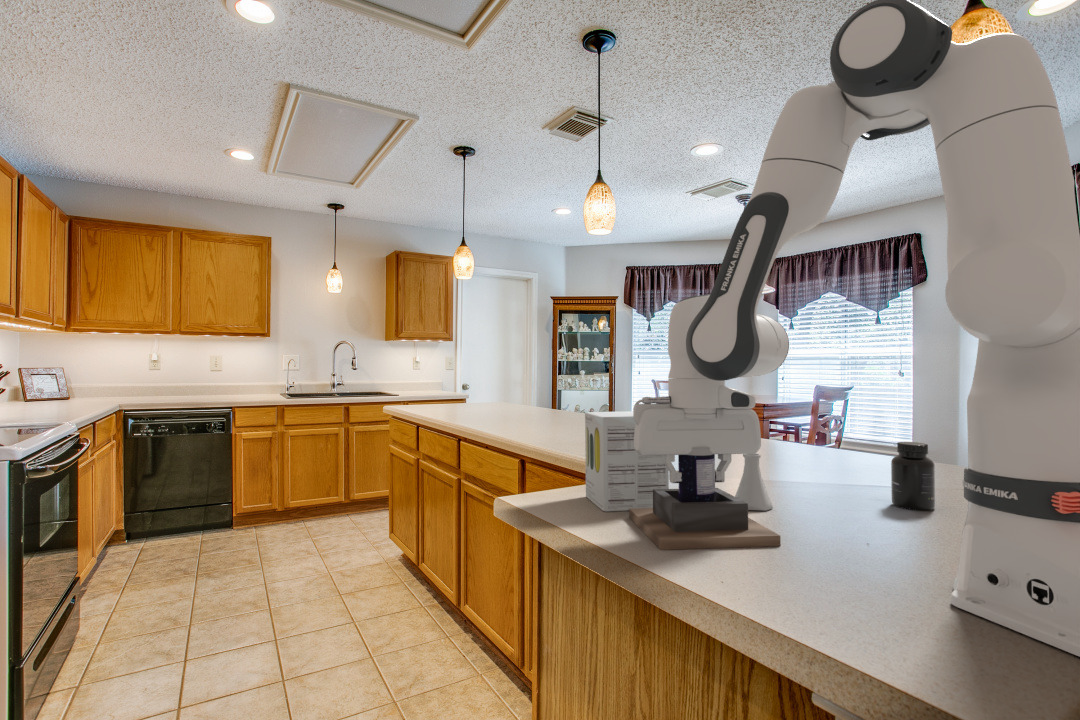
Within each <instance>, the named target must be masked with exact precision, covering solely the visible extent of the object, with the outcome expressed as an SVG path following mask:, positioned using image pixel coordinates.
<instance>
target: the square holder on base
mask: <svg viewBox="0 0 1080 720" xmlns="http://www.w3.org/2000/svg"><path fill="white" fill-rule="evenodd" d="M628 515H629V516H628V518H630V519H631V521H632V522H633V523H634V524H635V525H636V526H637V527H638V528H639V529H640V530H641V531H642V533H644V534H645V535H646V536H647V538H649V540H650V541H651V542H652V543H653V544H654V545H655V546H656V547H657V548H658V549H659V550H661V551H665V550H695V549H696V550H697V549H724V548H725V549H726V548H732V549H733V548H755V547H756V548H757V547H758V548H759V547H781V545H782V544H781V535H780V534H778V533H777V532H775V531H773V530H771V529H770V528H768V527H766V526H764V525H763V524H761V523H759V522H758V521H756V520H754V519H752V518H750V517H749V510H748V503H746V502H744V501H742V500H740V499H738V498H736V497H735V495H732V494H730V493H728V492H726V491H724V490H723V489H721V488H718V487H715V502H686V503H681V502H679V488H669V489H653V508H632V509H629V510H628Z"/></svg>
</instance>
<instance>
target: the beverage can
mask: <svg viewBox="0 0 1080 720" xmlns="http://www.w3.org/2000/svg"><path fill="white" fill-rule="evenodd" d="M691 449H692V451H691V452H690V453H689V454H687V455H677V456H678V458H677V459H678V466H677V467H678V469H677V470H678V471H679V472H682V477H681V479H682V482H681V483H678V489H679V502H681V503H686V502H715V488H716V482H715V470H716V454H713V453H712V452H711V451H710V450H709V449H710V448H691Z"/></svg>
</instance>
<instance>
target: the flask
mask: <svg viewBox="0 0 1080 720" xmlns="http://www.w3.org/2000/svg"><path fill="white" fill-rule="evenodd" d="M742 457H743V459H744V465H743V472H742V476H741V478H740V482H739V485H738V487H737V491H736V493H735V495H734V497H736V498H738V499H740V500H742V501H744V502H746V503H748V511H766V512H767V511H768V510H772V509H773V508H774V507H773V504H772V501H771V499H770V498H771V497H770V496H769V493H768V490H767V488H766V485H765V483H764V479H763V477H762V471H761V467H760V459H761V457H762V454H761V453H756V454H742Z"/></svg>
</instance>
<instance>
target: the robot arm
mask: <svg viewBox="0 0 1080 720" xmlns="http://www.w3.org/2000/svg"><path fill="white" fill-rule="evenodd" d="M952 39H953V29H952V28H951V26H950V25H948V24H947V23H945V22H944V21H942V20H940V18H937V16H935V15H933V14H932V13H931V12H929V11H927V9H925V8H924V7H922V6H921V5H919V4H916V3H915V2H912V1H910V0H874V1H871V2H869V3H867V4H866V5H863V6H861V7H860V8H859V9H857V10H856V11H855V12H854V13H852V14H851V15H850V16H849V17H848V18H847V19H846V20H845V21H844V23H843V24H842V25H841V26H840V28H839V29H838V31H837V33H836V34H835V37H834V39H833V41H832V45H831V48H830V54H829V63H830V64H829V66H830V71H831V74H832V77H833V82H830V83H827V84H818V85H817V84H816V85H810V86H807V87H803V88H801V89H800V90H797V91H796V92H795V93H794V94H792V95H791V96H790V97H789V98H788V99H787V101H786V102H785V104H784V105H783V108H782V110H781V111H780V114H779V116H778V118H777V120H776V123H775V125H774V127H773V129H772V132H771V134H770V137H769V139H768V143H767V145H766V147H765V150H764V153H763V158H762V161H761V164H760V166H759V170H758V173H757V178H756V181H755V183H754V187H753V189H752V192H751V195H750V198H749V200H748V202H747V204H746V205H745V206H744V209H743V211H742V213H741V214H740V217H739V218H738V220H737V223H736V226H735V227H734V229H733V230H734V231H733V232H732V235H731V238H730V241H729V243H728V247H727V249H726V251H725V254H724V256H723V260H722V262H721V265H720V267H719V270H718V273H717V276H716V279H715V281H714V284H713V286H712V290H711V291H710V294H702V295H701V294H700V295H693V296H689V297H686V298H683V299H681V300H679V301H678V302H677V303H675V304H674V306H673V308H672V309H671V312H670V317H669V323H668V334H667V335H668V337H667V346H668V347H667V352H668V357H669V361H670V369H669V372H668V379H667V382H668V385H667V387H668V390H667V391H668V396H657V397H652V396H651V397H650V396H644V397H642V398H641V399H639V400H638V401H636V402H635V404H634V406H633V417H634V421H635V422H636V425H635V432H634V448H635V450H636V451H637V452H638V453H639V454H641V455H662V460H663V462H664V464H665V465H666V467H667V469H668V470H669V483H670V484H679V483H681V482H682V479H681V477H682V472H679V470H676V468H675V467H674V464H673V463H675V461H676V456H678V455H687V454H689V453H690V452H691V451H692V449H691V448H710V449H709V450H710V451H711V452H712V453H713V454H715V455H717V459H718V460H720V461H719V463H718V466H717V467H716V468H715V483H725V481H726V480H725V479H726V478H725V477H726V476H725V475H726V474H725V473H726V471H727V470H728V468H729V467H730V465H731V462H732V455H743V454H758V452H759V450H760V449H761V447H762V436H761V435H762V433H761V425H760V419H759V416H758V414H757V412H756V411H755V410H754V408H755V407H756V403H757V402H756V401H757V400H756V397H755V396H754V395H753V394H750V393H748V392H745V391H741V390H738V389H736V388H733V387H729V386H727V385H726V384H725V383H726V381H729V380H732V379H734V380H735V379H736V378H749V377H760V376H765V375H767V374H770V373H772V372H775V371H776V370H778V369H779V368H780V367H781V366H782V364H784V362H785V360H786V359H787V357H788V354H789V350H790V340H789V336H788V334H787V332H786V329H785V328H784V326H783V325H782V324H781V323H780V322H779V321H778V320H775V318H774V319H773V318H772V317H770V316H767V315H764V314H759V313H757V308H758V306H759V303H760V300H761V296H762V295H763V292H764V289H765V286H766V284H767V281H768V277H769V276H770V273H771V269H772V267H773V265H774V262H775V260H776V258H777V255H778V253H779V252H780V251H781V249H782V248H783V247H784V246H785V244H787V243H788V242H789V241H791V239H793V238H795V237H796V236H799V235H801V234H802V233H803V234H804V233H806V232H808V231H810V230H812V229H814V228H815V227H817V226H819V225H820V224H821V223H822V222H823V221H825V219H826V217H827V216H828V214H829V212H830V210H831V208H832V206H833V204H834V202H835V199H836V198H837V195H838V192H839V190H840V188H841V184H842V181H843V179H844V174H845V172H846V167H847V164H848V160H849V157H850V156H851V152H852V149H853V146H854V145H855V143H856V142H857V141H858V139H859V138H862V139H864V140H866V141H874V140H878V139H881V138H886V137H889V136H890V137H891V136H899V135H904V134H910V133H913V132H915V131H916V132H917V131H918V130H922V129H924V128H925V127H928V125H930V127H931V133H932V135H933V137H932V138H933V141H934V142H933V143H934V149H935V153H936V154H935V155H936V158H937V163H938V170H939V175H940V181H941V186H942V192H943V197H944V202H945V209H946V217H947V235H946V236H947V237H946V239H947V240H946V246H947V247H946V258H947V259H946V260H947V261H946V262H947V281H946V286H945V296H944V297H945V300H946V301H945V302H946V305H947V307H948V310H949V311H950V314H951V316H952V317H953V319H954V320H955V321H956V322H957V323H958V325H959V326H960V327H961V328H962V329H963V330H965V332H967V333H968V334H969V335H971V336H973V337H975V338H977V339H978V343H977V345H978V346H977V353H976V360H975V366H974V373H973V378H972V384H971V388H970V391H969V393H968V396H967V400H966V414H967V415H966V416H967V417H966V418H967V420H966V422H967V457H968V458H967V460H968V466H967V467H965V468H964V469H963V478H962V486H963V498H964V499H965V500H966V501H967V511H966V518H965V522H964V525H963V529H962V534H961V535H962V536H961V543H960V552H959V559H958V568H957V573H956V576H955V579H954V582H953V585H952V589H953V591H952V592H951V594H950V604H951V605H952V606H954V607H956V608H959V609H961V610H963V611H966V612H969V613H971V614H974V615H975V616H978V617H981V618H983V619H986V620H988V621H990V622H993V623H995V624H997V625H1001V626H1003V627H1006V628H1008V629H1010V630H1013V631H1015V632H1017V633H1021V634H1023V635H1025V636H1027V637H1030V638H1032V639H1035V640H1037V641H1039V642H1043V643H1045V644H1047V645H1050V646H1053V647H1055V648H1057V649H1060V650H1062V651H1064V652H1068V653H1069V654H1072V655H1075V656H1078V657H1080V229H1079V221H1078V213H1077V203H1076V194H1075V193H1076V192H1075V179H1074V178H1075V177H1074V174H1073V173H1074V172H1073V168H1072V165H1071V159H1070V155H1069V151H1068V146H1067V141H1066V137H1065V133H1064V128H1063V124H1062V120H1061V115H1060V110H1059V105H1058V102H1057V98H1056V95H1055V92H1054V87H1053V86H1052V83H1051V80H1050V78H1049V75H1048V73H1047V71H1046V68H1045V66H1044V64H1043V63H1042V60H1041V58H1040V56H1039V54H1038V52H1037V50H1036V49H1035V47H1034V46H1033V44H1032V43H1031V41H1030V40H1029V39H1027V38H1026V37H1024V36H1022V35H1020V34H1016V33H1011V32H1005V33H1004V32H1002V33H1000V32H999V33H993V34H989V35H985V36H981V37H979V38H977V39H974V40H972V41H969V42H966V43H965V42H964V43H956V42H955V41H952Z"/></svg>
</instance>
